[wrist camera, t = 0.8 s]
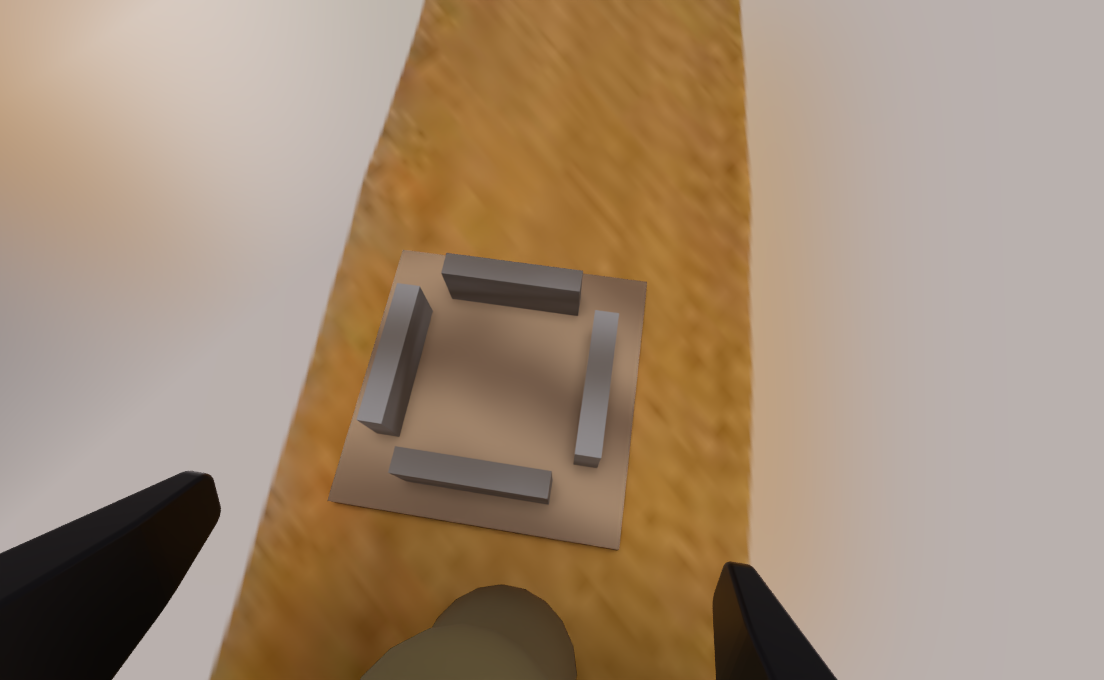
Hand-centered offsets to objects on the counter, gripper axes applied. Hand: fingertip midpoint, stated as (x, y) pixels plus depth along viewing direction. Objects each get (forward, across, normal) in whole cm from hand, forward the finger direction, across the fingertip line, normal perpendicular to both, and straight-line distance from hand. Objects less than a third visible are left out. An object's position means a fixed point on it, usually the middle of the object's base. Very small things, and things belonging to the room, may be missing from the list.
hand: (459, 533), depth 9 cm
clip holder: (+14, +2, +6) cm, 15 cm away
